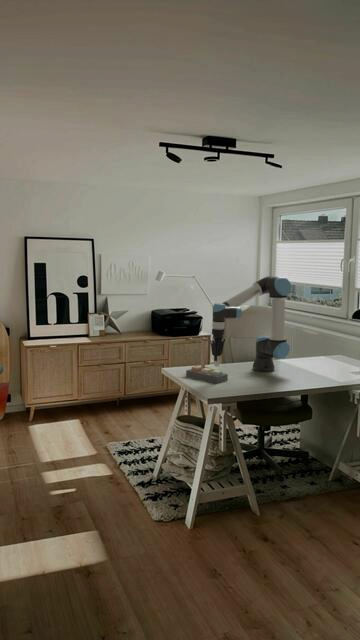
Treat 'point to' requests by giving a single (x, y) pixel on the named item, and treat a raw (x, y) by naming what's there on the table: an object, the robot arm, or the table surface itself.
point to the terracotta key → (197, 368)
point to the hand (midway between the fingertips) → (216, 365)
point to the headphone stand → (203, 353)
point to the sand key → (206, 370)
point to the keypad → (206, 376)
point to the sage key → (216, 372)
